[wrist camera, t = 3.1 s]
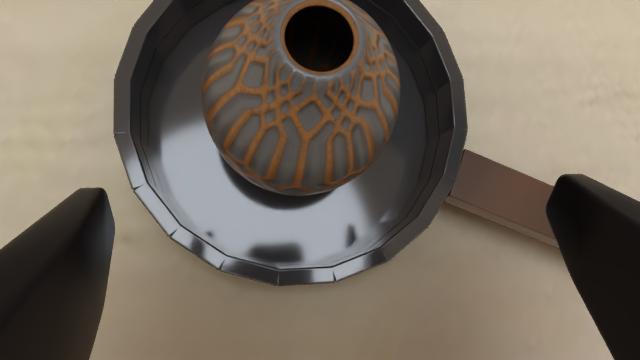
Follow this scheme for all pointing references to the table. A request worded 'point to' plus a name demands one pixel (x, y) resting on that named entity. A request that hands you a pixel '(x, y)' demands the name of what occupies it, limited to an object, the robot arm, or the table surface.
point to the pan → (266, 206)
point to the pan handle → (503, 196)
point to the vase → (300, 94)
